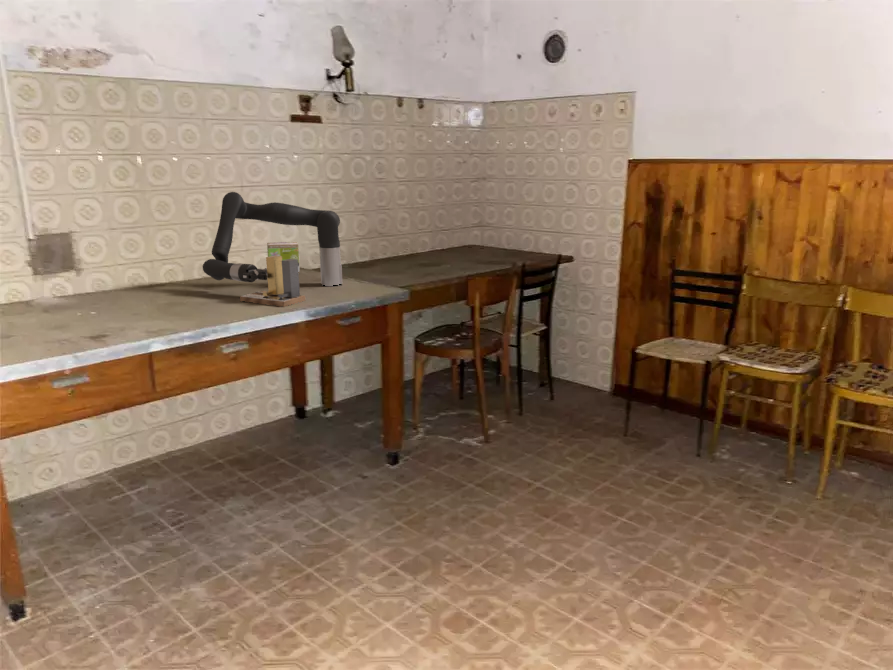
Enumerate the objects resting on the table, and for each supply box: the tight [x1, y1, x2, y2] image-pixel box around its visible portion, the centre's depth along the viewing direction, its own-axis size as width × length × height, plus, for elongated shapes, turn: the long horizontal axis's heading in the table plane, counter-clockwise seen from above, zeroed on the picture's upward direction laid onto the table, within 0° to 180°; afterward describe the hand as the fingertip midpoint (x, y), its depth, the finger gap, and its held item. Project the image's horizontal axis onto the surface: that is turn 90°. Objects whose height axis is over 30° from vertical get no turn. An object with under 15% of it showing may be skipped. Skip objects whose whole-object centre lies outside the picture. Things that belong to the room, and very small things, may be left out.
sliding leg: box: [263, 256, 284, 297], centre depth 273 cm, size 4×10×15 cm, turn 152°
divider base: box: [239, 259, 306, 308], centre depth 273 cm, size 23×13×17 cm, turn 62°
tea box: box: [266, 241, 300, 273], centre depth 341 cm, size 15×10×15 cm
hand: (273, 275), depth 275 cm, fingers open, 8 cm apart
